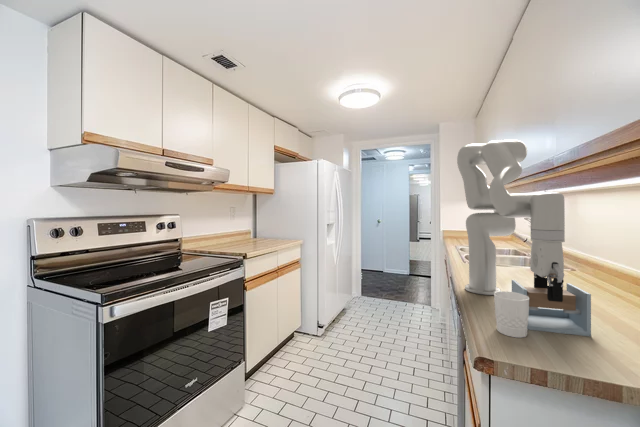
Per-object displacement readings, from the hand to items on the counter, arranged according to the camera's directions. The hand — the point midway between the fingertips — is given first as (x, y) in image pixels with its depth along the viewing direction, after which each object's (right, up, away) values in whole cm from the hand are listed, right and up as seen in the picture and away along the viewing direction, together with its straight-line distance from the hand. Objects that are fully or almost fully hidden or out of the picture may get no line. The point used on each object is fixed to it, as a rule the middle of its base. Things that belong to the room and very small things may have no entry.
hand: (547, 295), depth 79 cm
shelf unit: (0, -8, 0) cm, 8 cm away
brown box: (0, -3, 0) cm, 3 cm away
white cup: (-13, -9, -4) cm, 17 cm away
